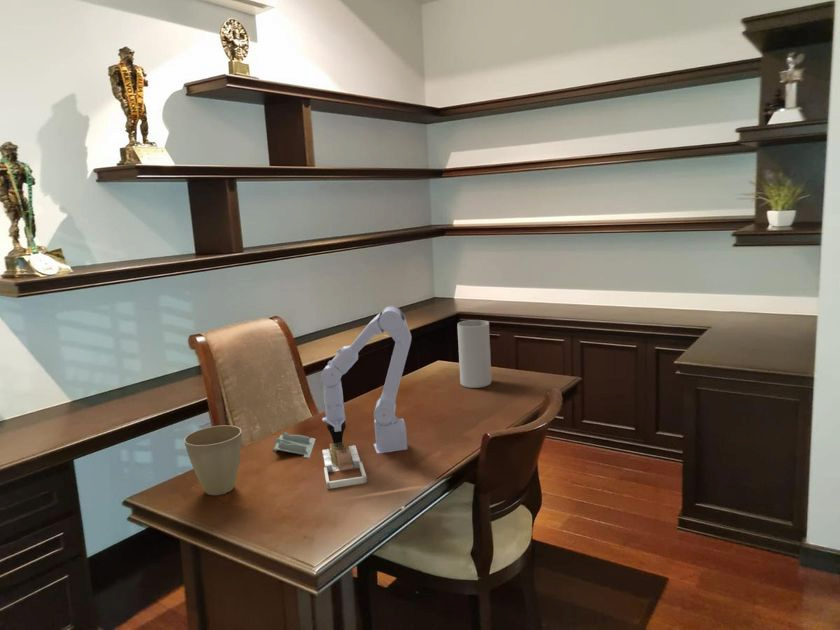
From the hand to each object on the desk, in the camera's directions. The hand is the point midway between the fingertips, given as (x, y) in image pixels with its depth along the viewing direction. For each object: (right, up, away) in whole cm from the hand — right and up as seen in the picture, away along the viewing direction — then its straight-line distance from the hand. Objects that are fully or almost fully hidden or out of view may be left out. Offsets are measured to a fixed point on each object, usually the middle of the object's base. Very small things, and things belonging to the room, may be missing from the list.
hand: (338, 445), depth 192 cm
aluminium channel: (+2, -3, -9) cm, 10 cm away
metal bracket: (-13, -3, +3) cm, 14 cm away
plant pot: (-30, -8, -21) cm, 37 cm away
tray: (+5, -5, -20) cm, 21 cm away
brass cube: (+1, -2, -7) cm, 7 cm away
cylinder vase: (+48, +12, +59) cm, 77 cm away
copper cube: (+3, -3, -11) cm, 12 cm away
